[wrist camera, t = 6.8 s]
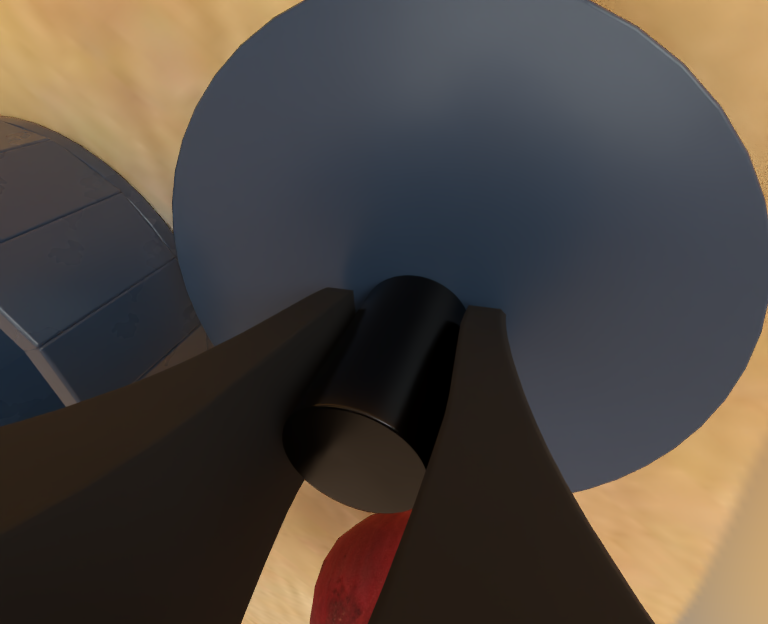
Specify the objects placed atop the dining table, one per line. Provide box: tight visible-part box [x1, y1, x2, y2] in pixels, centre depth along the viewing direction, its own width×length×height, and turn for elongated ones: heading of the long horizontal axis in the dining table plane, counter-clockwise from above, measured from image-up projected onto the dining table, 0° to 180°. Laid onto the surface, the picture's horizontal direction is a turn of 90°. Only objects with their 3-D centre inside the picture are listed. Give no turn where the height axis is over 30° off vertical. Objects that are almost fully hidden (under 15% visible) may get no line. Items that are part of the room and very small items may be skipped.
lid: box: [172, 0, 768, 514], centre depth 8 cm, size 12×12×5 cm
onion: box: [310, 509, 412, 624], centre depth 14 cm, size 6×6×8 cm
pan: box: [0, 116, 214, 427], centre depth 14 cm, size 11×11×5 cm
